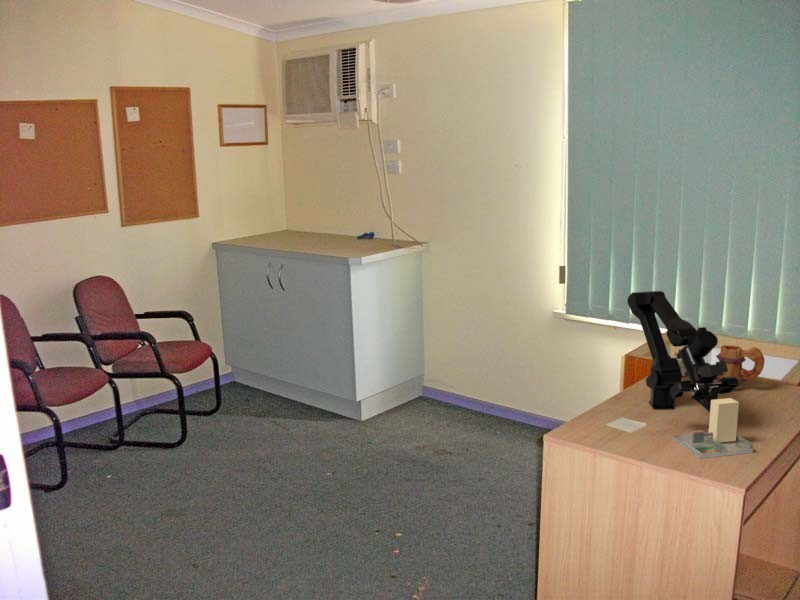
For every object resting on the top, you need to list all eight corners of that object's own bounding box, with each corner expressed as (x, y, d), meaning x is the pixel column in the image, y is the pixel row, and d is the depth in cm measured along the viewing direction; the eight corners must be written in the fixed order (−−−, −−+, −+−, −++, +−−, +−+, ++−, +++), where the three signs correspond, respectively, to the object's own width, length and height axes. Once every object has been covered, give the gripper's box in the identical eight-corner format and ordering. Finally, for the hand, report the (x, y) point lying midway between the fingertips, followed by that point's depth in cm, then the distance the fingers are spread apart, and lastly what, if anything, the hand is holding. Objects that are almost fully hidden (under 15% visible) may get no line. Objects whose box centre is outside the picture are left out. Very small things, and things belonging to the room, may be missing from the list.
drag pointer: (692, 442, 201) (692, 431, 200) (702, 441, 201) (703, 430, 200) (693, 443, 200) (694, 432, 199) (703, 442, 201) (704, 431, 200)
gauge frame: (672, 439, 207) (673, 431, 207) (722, 434, 210) (723, 426, 210) (700, 458, 195) (700, 449, 194) (752, 452, 198) (753, 443, 197)
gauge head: (690, 438, 204) (693, 400, 202) (726, 435, 206) (729, 397, 204) (699, 444, 200) (701, 405, 198) (735, 440, 202) (738, 402, 200)
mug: (711, 389, 248) (714, 345, 245) (716, 382, 254) (719, 340, 251) (759, 397, 239) (762, 352, 236) (763, 390, 246) (767, 346, 243)
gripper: (677, 353, 205) (698, 404, 197) (738, 348, 209) (761, 399, 200) (661, 372, 215) (680, 422, 206) (719, 367, 218) (740, 416, 210)
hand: (715, 414), depth 205 cm, fingers closed
